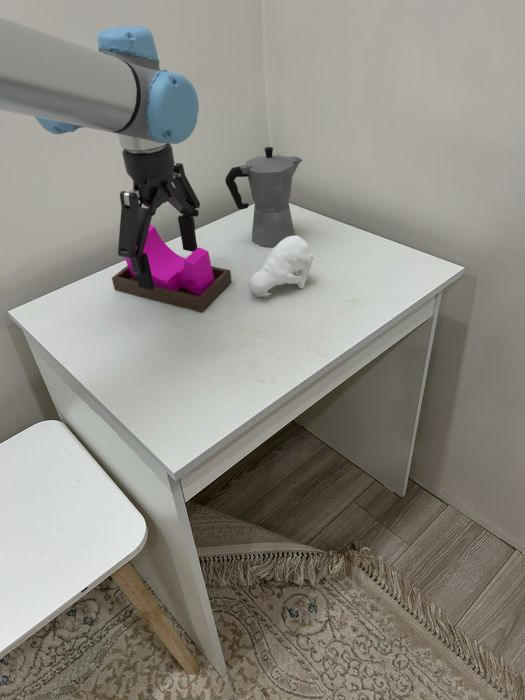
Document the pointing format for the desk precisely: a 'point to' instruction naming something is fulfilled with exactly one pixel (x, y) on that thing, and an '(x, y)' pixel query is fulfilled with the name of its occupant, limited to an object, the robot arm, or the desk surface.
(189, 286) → the magenta curved bracket
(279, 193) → the coffeepot
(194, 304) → the dark brown rectangular tray
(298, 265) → the white lumpy piece
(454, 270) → the desk surface
